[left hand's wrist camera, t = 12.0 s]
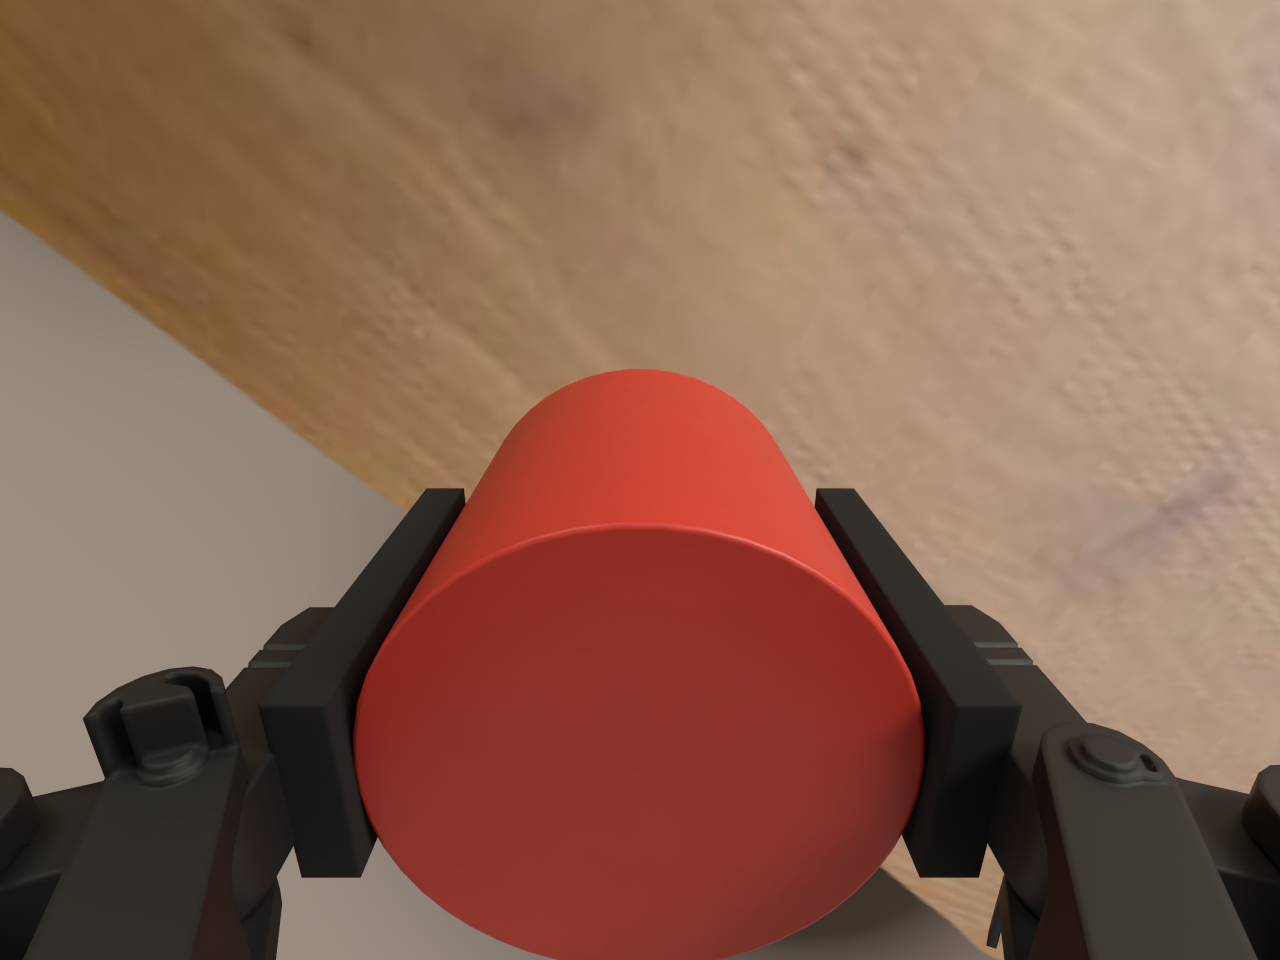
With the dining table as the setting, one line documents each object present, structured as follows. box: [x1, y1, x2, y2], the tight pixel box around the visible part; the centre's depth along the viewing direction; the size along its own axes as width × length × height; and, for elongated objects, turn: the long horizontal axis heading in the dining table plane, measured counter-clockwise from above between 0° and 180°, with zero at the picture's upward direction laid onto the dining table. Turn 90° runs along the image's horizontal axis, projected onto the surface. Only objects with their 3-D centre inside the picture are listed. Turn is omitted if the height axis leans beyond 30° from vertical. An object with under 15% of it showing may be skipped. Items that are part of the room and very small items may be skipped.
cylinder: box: [353, 369, 925, 960], centre depth 12 cm, size 7×7×8 cm
